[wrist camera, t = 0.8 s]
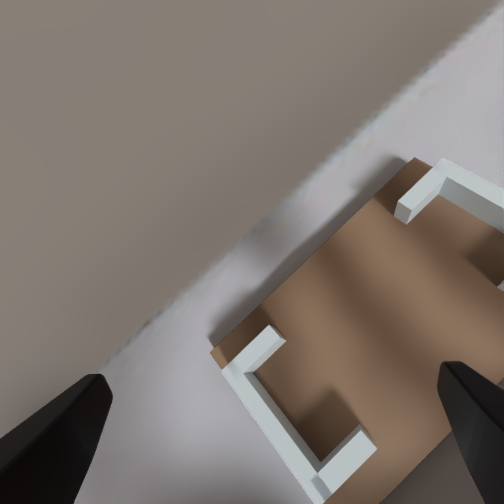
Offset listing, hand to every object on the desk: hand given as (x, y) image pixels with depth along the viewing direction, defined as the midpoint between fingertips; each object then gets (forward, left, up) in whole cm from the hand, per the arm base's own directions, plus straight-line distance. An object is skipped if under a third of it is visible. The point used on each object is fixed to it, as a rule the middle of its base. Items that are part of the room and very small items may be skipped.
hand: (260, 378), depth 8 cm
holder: (-1, -6, -13) cm, 14 cm away
